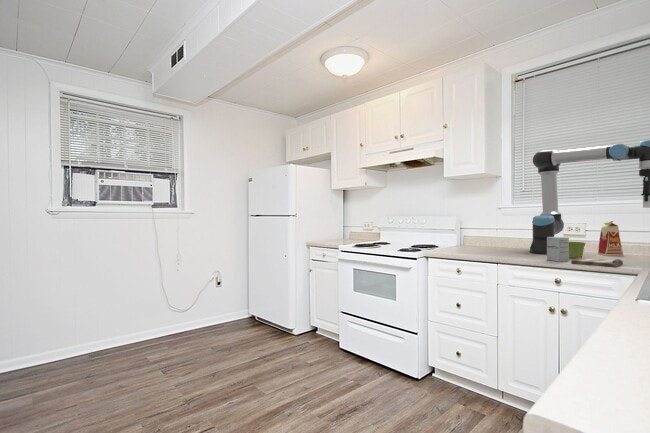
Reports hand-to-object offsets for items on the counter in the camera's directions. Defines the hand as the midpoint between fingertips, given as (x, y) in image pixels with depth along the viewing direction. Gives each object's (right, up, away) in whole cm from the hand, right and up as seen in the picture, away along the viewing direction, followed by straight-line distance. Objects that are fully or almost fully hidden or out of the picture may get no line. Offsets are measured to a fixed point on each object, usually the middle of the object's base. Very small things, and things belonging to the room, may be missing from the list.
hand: (647, 207), depth 197 cm
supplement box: (-53, -29, -5) cm, 60 cm away
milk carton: (-10, -28, +14) cm, 32 cm away
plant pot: (-37, -28, +5) cm, 46 cm away
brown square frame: (-41, -29, -17) cm, 53 cm away
